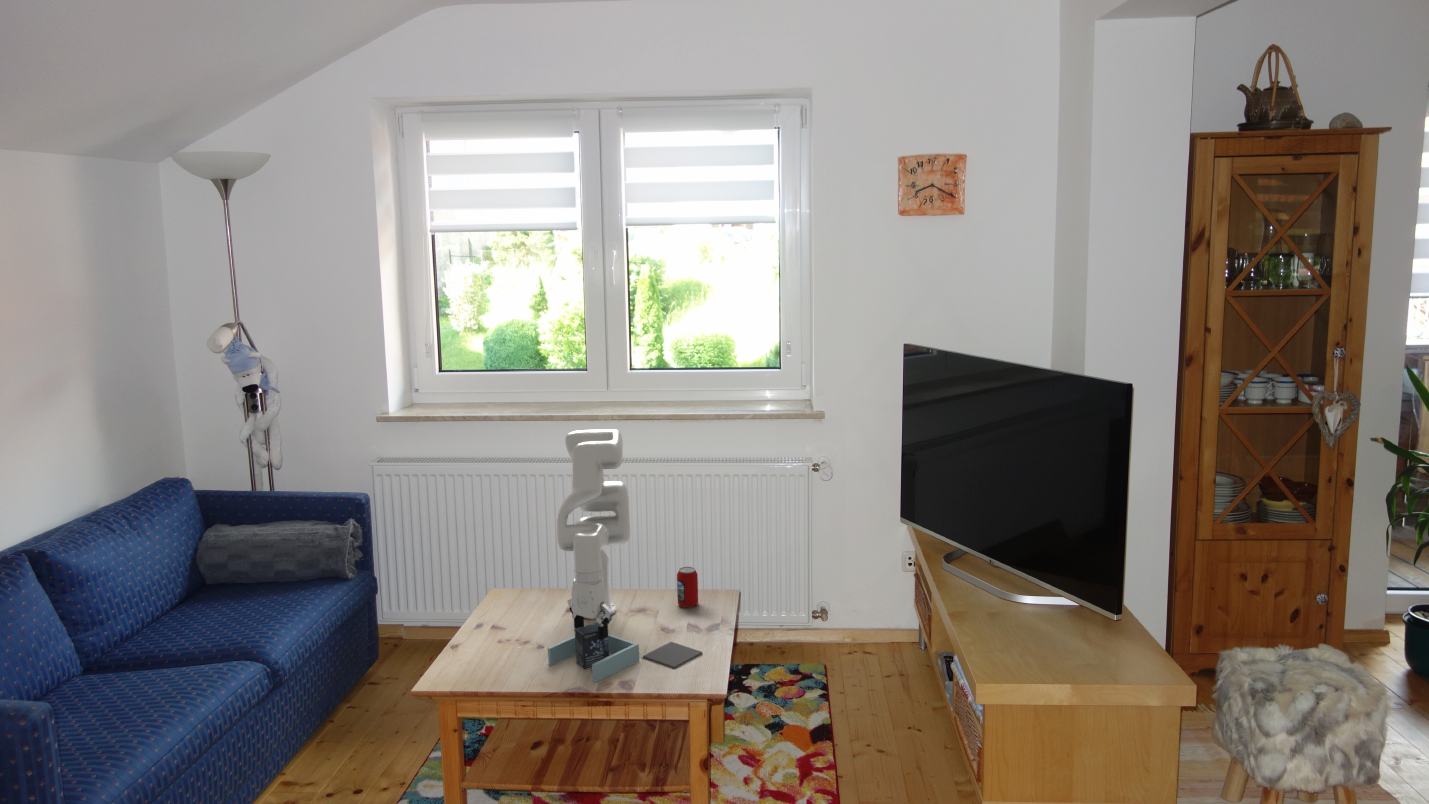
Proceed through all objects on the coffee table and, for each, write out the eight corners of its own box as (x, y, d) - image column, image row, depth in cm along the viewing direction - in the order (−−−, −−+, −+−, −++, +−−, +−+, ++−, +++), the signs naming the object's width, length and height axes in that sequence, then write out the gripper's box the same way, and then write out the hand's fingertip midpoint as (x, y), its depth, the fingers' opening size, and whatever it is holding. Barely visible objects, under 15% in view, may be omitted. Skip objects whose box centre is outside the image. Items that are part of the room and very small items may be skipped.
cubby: (548, 664, 263) (547, 647, 262) (592, 643, 276) (592, 627, 275) (595, 682, 251) (594, 665, 250) (639, 660, 264) (638, 643, 263)
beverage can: (677, 601, 308) (676, 566, 306) (697, 600, 308) (696, 565, 306) (678, 609, 301) (677, 573, 299) (699, 607, 302) (698, 572, 300)
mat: (643, 657, 266) (642, 655, 266) (671, 643, 275) (671, 641, 275) (674, 668, 258) (674, 666, 258) (702, 653, 267) (702, 651, 267)
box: (584, 670, 259) (582, 634, 257) (575, 663, 263) (573, 627, 262) (609, 663, 263) (608, 627, 261) (600, 656, 268) (599, 621, 266)
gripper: (557, 573, 261) (560, 631, 264) (600, 585, 250) (603, 646, 253) (577, 566, 267) (580, 623, 269) (620, 577, 256) (622, 637, 258)
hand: (591, 634), depth 261 cm, fingers open, 9 cm apart
